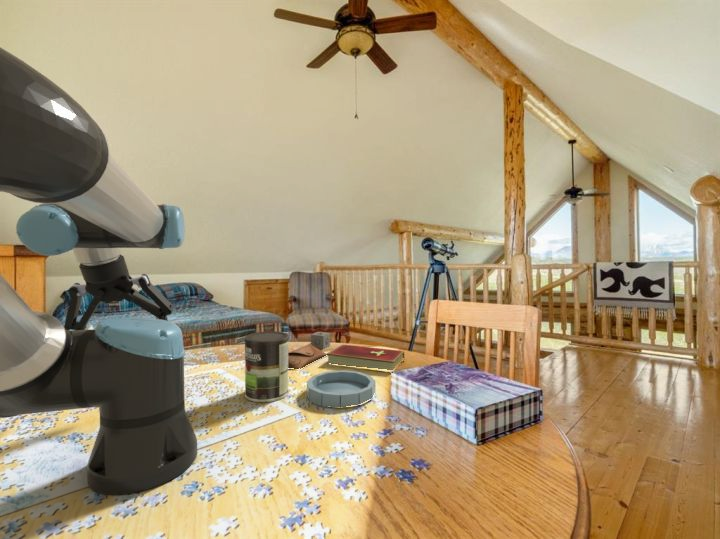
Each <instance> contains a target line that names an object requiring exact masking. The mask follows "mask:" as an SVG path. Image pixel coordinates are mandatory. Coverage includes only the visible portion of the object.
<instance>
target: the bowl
mask: <svg viewBox="0 0 720 539" xmlns="http://www.w3.org/2000/svg"><path fill="white" fill-rule="evenodd" d="M374 393H375V394H376V380H375V379H374V378H373V377H372V376H371V375H370V374H368V373H363V372H360V371H355V370H344V369H342V370H329V371H324V372H322V373H318V374H315V375H313V376H311V377H310V378H309V379H308V380H307V381H306V396H307V398H308V401H309V402H310V401H311V402H310V403H312V402H313V404H314V403H315V405H317V404H318V405H317V406H319V405H320V406H319V407H321V406H330V407H346V406H351V405H358V404H361V403H363V402H365V401H367V400H369V399H371V398H372V397H373V395H374Z"/></svg>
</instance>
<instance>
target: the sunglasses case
mask: <svg viewBox="0 0 720 539" xmlns="http://www.w3.org/2000/svg"><path fill="white" fill-rule="evenodd" d="M326 355H327V353H326V352H324V351H323V350H321V349H317V348H316V347H314V346H312V345H311V342H310V343H308V344H306V345H305V346H302V347H298V348H296V349H294V350H291V351H290V352H288V368H294V369H299V368H300V369H301V368H303V367H305V366H306V365H308V364H310V363H312V362H314V361H316V360H318V359H320V358H321V359H323V358H322V357H324V356H326ZM326 357H327V356H326ZM324 358H325V357H324ZM321 359H320V360H321ZM318 361H319V360H318ZM316 362H317V361H316ZM314 363H315V362H314ZM312 364H313V363H312ZM310 365H311V364H310ZM308 366H309V365H308ZM306 367H307V366H306ZM306 367H305V368H306ZM303 369H304V368H303Z"/></svg>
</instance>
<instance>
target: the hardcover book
mask: <svg viewBox="0 0 720 539" xmlns="http://www.w3.org/2000/svg"><path fill="white" fill-rule="evenodd" d="M326 354H327V355H328V356H327V358H328V359H327V360H328V362H327V363H331V364H338V365H346V366H356V367H367V368H378V369H387V370H393V369H394V368H395V366H396V365H397V364H398V363H399V362H400V361H401V360H402V358H404V359H405V350H397V349H390V348H389V349H388V348H379V347H369V346H360V345H351V344H340V345H339V346H337V347H335V348H333V349H332V350H330V351H328V352H327V353H326Z"/></svg>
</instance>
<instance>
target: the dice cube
mask: <svg viewBox="0 0 720 539" xmlns="http://www.w3.org/2000/svg"><path fill="white" fill-rule="evenodd" d="M310 343H311V345H312V346H314V347H316V348H317V349H319V350H321V349H324V350H326V349H328V348H330V347H331V332H326V331H316V332H314V333H311V334H310ZM329 346H330V347H329ZM327 347H328V348H327ZM325 348H326V349H325Z"/></svg>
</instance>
